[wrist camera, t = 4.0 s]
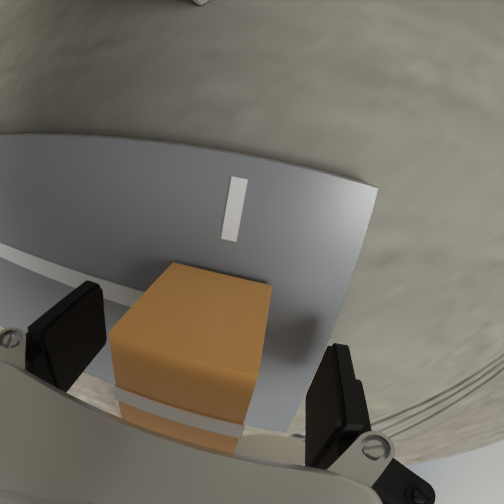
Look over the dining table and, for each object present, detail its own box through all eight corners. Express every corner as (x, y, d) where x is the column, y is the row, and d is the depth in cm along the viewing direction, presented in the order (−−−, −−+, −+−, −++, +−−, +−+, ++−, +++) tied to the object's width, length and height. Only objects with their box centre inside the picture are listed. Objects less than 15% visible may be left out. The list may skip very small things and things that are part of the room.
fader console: (365, 181, 12) (379, 188, 10) (287, 408, 17) (285, 433, 15) (-41, 137, 14) (-59, 140, 12) (-29, 285, 18) (-43, 294, 17)
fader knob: (273, 285, 11) (259, 378, 7) (249, 377, 13) (230, 467, 8) (172, 262, 12) (105, 333, 7) (166, 355, 13) (123, 434, 9)
